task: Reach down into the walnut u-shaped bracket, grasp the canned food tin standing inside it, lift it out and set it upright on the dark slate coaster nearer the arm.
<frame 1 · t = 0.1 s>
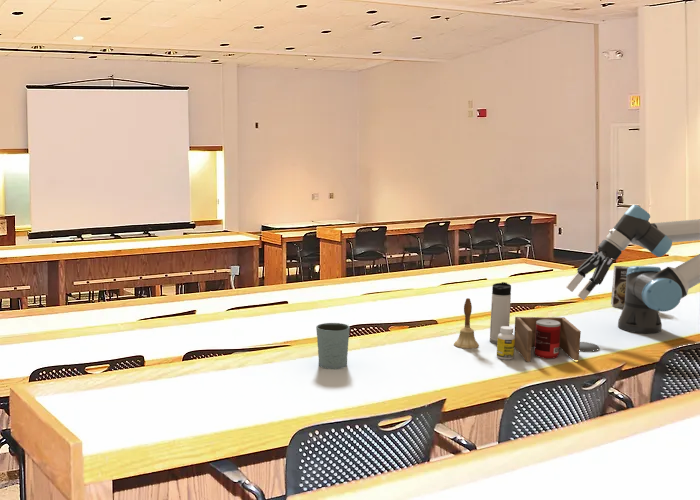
hand: (574, 293, 300), 15 cm above the table, tool tilted 35°, fingers open, 13 cm apart
grey-green cup: (332, 365, 263), on the table
canned food: (546, 356, 279), on the table
travel mug: (499, 342, 294), on the table
hand bell: (466, 346, 289), on the table
coffee box: (623, 306, 354), on the table
slate coaster: (583, 347, 289), on the table
supplement bottle: (505, 358, 275), on the table
walnut u-shaped bracket: (545, 354, 280), on the table
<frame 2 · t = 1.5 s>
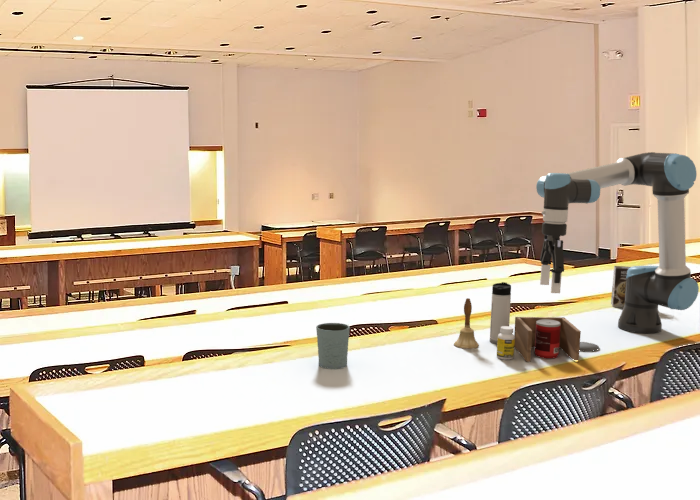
hand: (549, 288, 276), 22 cm above the table, tool pointing down, fingers open, 13 cm apart
nothing on the table moved.
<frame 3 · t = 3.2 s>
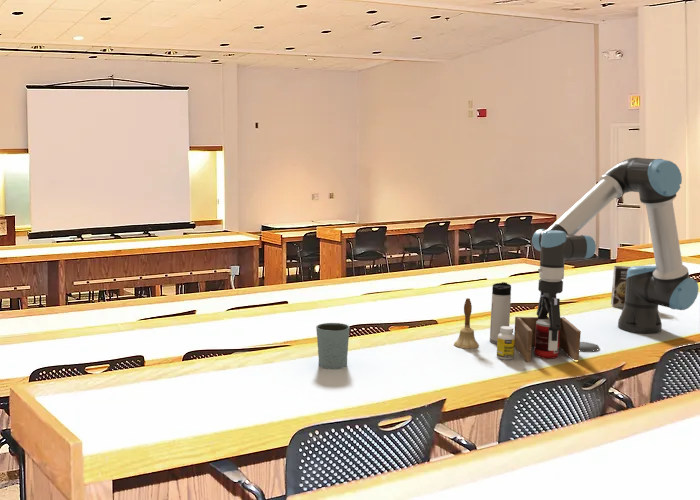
hand: (546, 344, 278), 4 cm above the table, tool pointing down, fingers open, 13 cm apart
nothing on the table moved.
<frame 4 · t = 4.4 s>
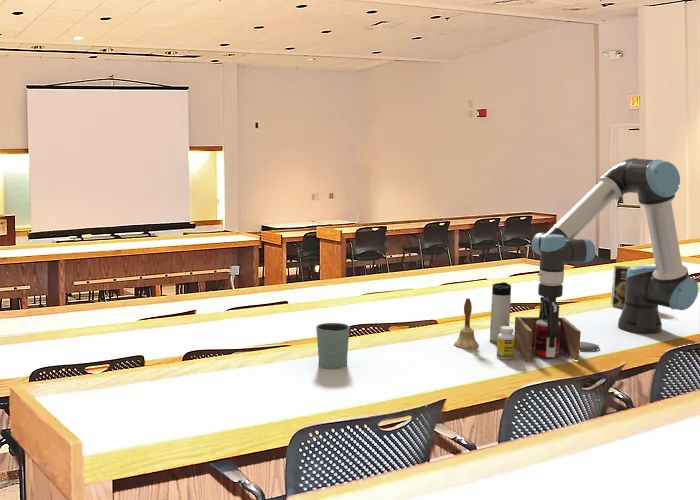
hand: (546, 352, 279), 1 cm above the table, tool pointing down, fingers closed on canned food, 8 cm apart
canned food: (546, 356, 279), on the table, touching gripper
everything else where it was.
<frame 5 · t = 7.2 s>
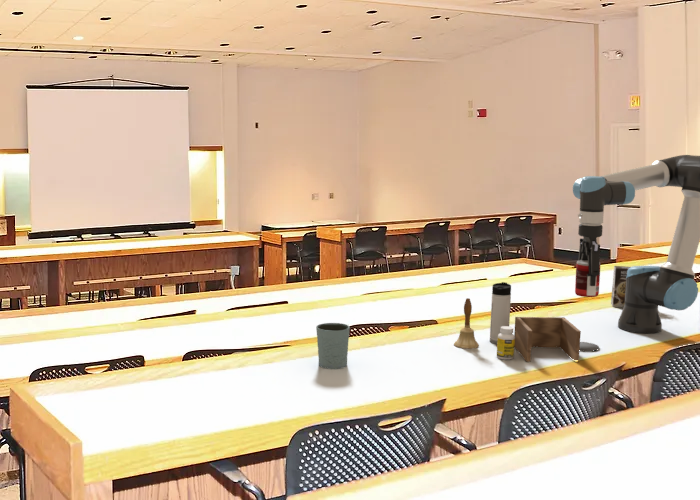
hand: (586, 292, 286), 19 cm above the table, tool pointing down, fingers closed on canned food, 8 cm apart
canned food: (586, 295, 286), point 18 cm above the table, touching gripper
everything else where it was.
when the fingers open (3 cm above the table, at t = 10.3 s): canned food drops 1 cm, resting on slate coaster.
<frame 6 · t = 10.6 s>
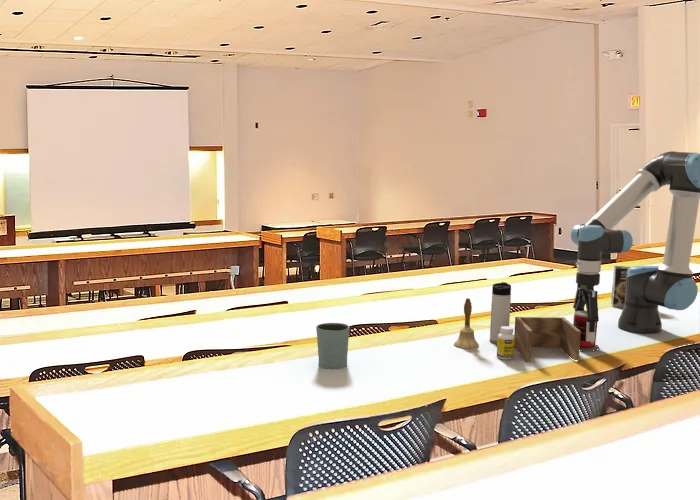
hand: (584, 336, 289), 4 cm above the table, tool pointing down, fingers open, 12 cm apart
canned food: (583, 345, 289), point 1 cm above the table, touching slate coaster
everything else where it was.
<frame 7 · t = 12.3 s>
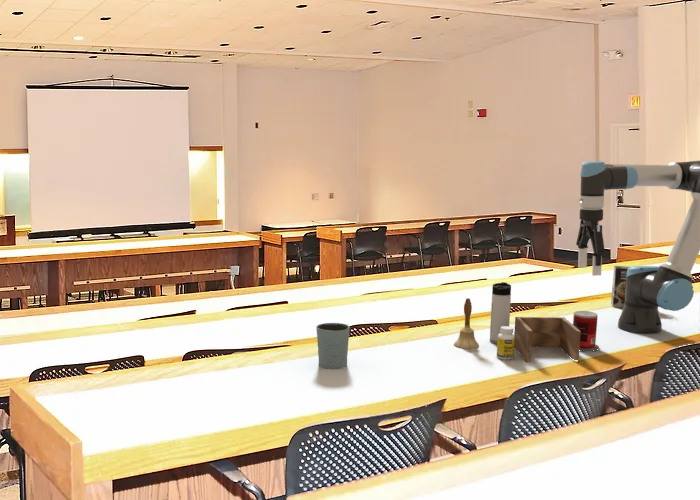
hand: (589, 271, 291), 25 cm above the table, tool pointing down, fingers open, 13 cm apart
nothing on the table moved.
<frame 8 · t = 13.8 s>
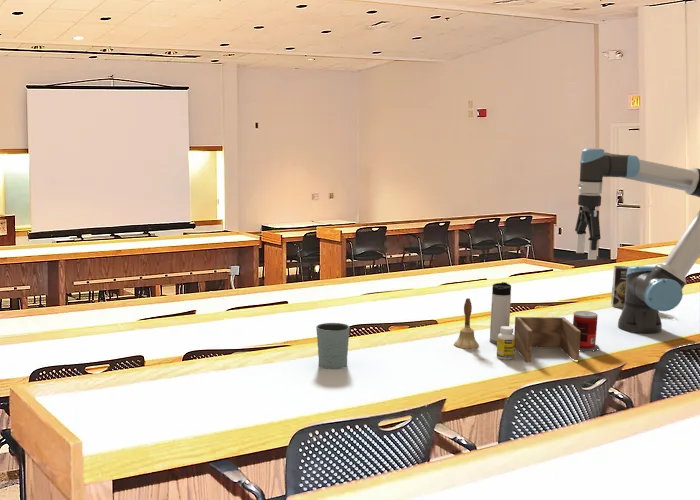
hand: (585, 256, 298), 29 cm above the table, tool pointing down, fingers open, 13 cm apart
nothing on the table moved.
at the end: canned food inside the target area on the slate coaster (0.0 cm from its centre), point 0.4 cm above the slate coaster's base; canned food tilted 0°; the gripper is holding nothing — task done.
